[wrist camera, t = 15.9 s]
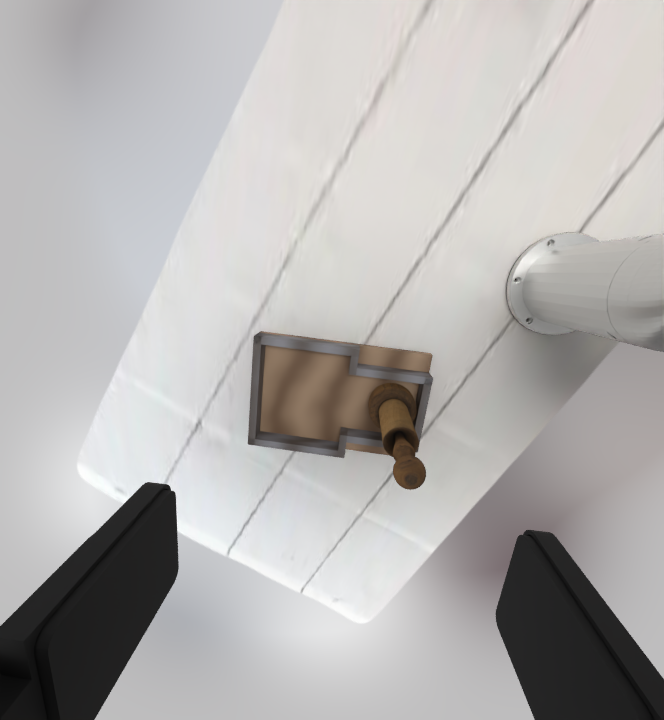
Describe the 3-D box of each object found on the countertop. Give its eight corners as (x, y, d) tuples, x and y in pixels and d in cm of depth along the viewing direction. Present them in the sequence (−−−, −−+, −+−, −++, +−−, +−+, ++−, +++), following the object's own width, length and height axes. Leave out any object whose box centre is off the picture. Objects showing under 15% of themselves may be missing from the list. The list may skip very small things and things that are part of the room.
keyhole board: (430, 353, 46) (436, 359, 42) (410, 454, 50) (414, 467, 47) (261, 331, 47) (253, 336, 43) (255, 432, 51) (247, 444, 47)
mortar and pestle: (358, 404, 47) (360, 479, 30) (390, 373, 46) (412, 434, 28) (391, 433, 48) (411, 524, 31) (424, 404, 47) (464, 482, 29)
